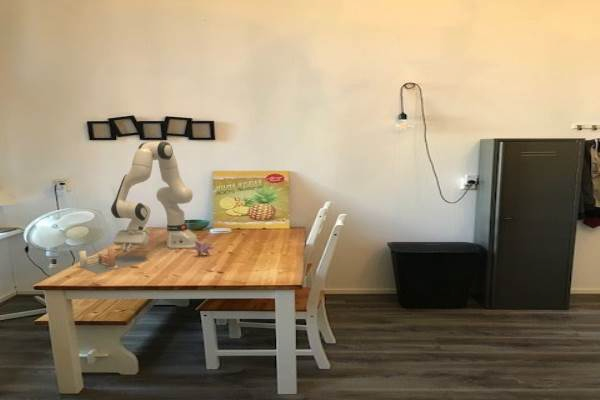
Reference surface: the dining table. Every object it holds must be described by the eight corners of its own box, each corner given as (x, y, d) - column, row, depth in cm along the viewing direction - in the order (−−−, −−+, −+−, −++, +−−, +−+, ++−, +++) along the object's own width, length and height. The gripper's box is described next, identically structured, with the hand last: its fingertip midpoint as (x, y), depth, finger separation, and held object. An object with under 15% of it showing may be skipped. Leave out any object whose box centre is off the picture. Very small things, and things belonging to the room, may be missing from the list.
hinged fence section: (110, 267, 203) (109, 249, 201) (98, 262, 212) (97, 245, 210) (116, 266, 205) (115, 248, 204) (104, 261, 214) (103, 244, 213)
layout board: (150, 260, 217) (150, 259, 217) (97, 274, 194) (97, 273, 194) (130, 255, 230) (130, 254, 230) (78, 267, 207) (78, 266, 207)
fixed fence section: (103, 262, 213) (102, 248, 212) (82, 267, 204) (80, 252, 203) (101, 261, 215) (99, 247, 214) (79, 266, 206) (78, 251, 205)
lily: (216, 257, 225) (216, 242, 228) (202, 254, 215) (202, 238, 218) (201, 262, 230) (201, 246, 233) (187, 259, 220) (187, 243, 224)
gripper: (116, 227, 221) (106, 247, 213) (147, 227, 217) (138, 249, 209) (122, 232, 226) (112, 253, 218) (152, 233, 221) (144, 254, 214)
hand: (125, 251), depth 213 cm, fingers closed
